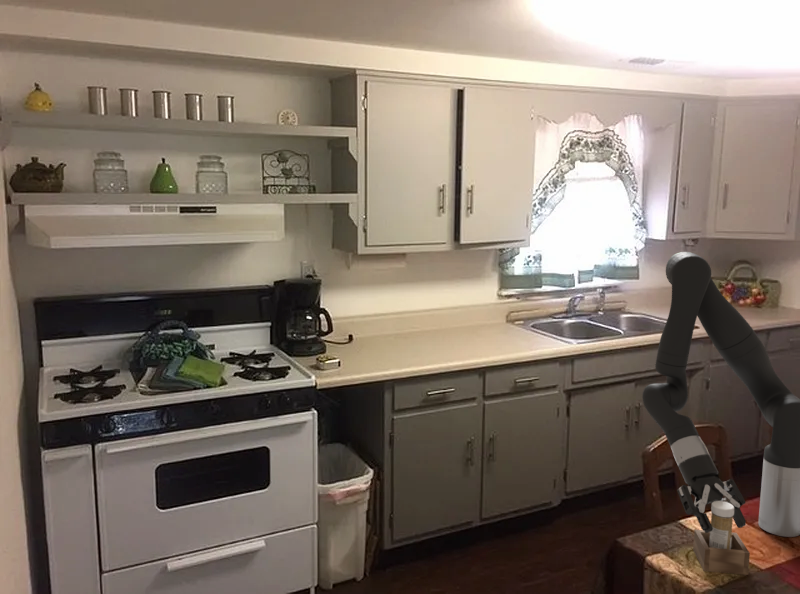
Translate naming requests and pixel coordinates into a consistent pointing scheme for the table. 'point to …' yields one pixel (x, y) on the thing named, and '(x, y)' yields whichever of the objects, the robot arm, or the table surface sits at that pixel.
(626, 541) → the table surface
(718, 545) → the sprinkles bottle
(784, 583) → the table surface
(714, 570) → the open square sleeve
